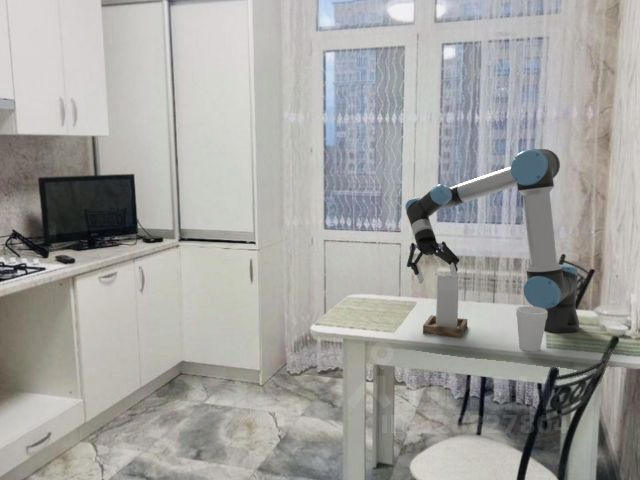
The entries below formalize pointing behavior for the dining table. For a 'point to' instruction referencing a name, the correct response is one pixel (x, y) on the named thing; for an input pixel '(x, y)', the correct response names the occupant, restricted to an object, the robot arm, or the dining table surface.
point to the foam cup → (531, 327)
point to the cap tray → (444, 328)
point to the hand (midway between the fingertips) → (439, 280)
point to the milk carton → (447, 301)
